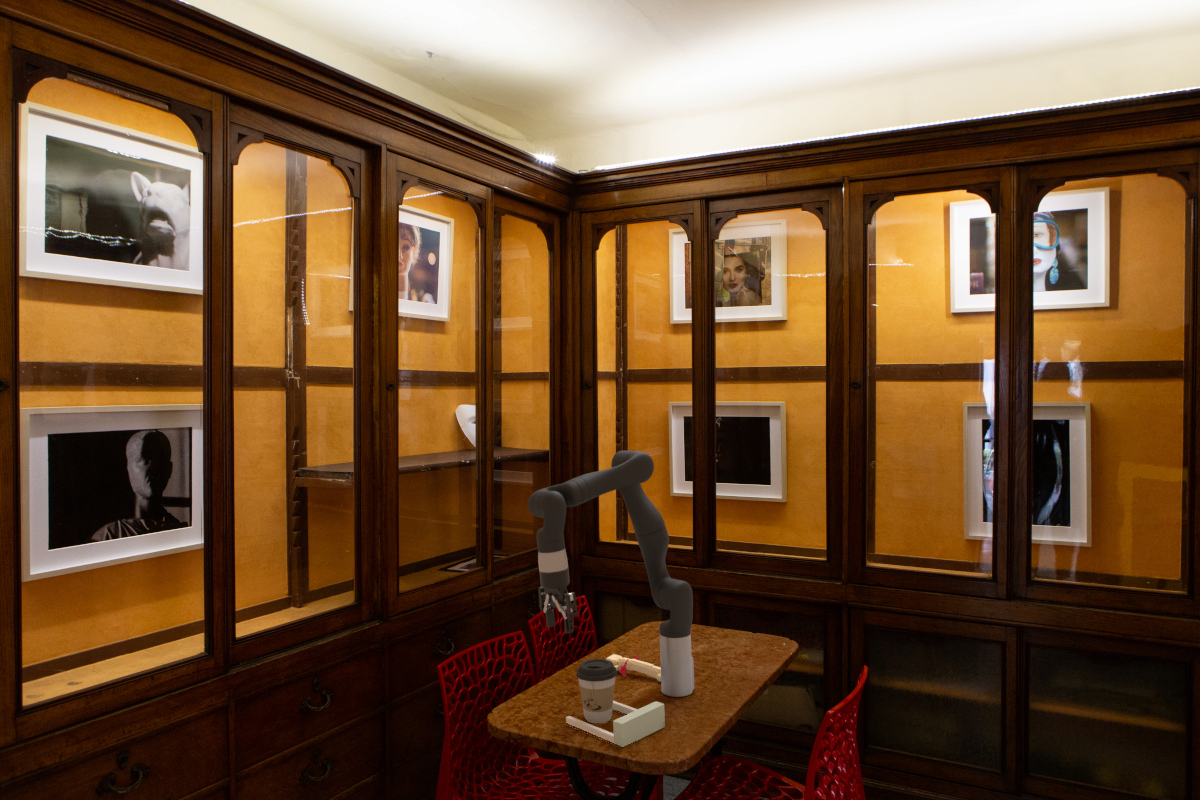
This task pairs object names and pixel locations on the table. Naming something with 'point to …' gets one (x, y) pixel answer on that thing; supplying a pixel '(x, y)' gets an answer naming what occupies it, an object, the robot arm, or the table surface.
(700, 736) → the table surface
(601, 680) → the coffee cup
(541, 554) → the robot arm
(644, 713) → the guide track
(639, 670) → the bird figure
